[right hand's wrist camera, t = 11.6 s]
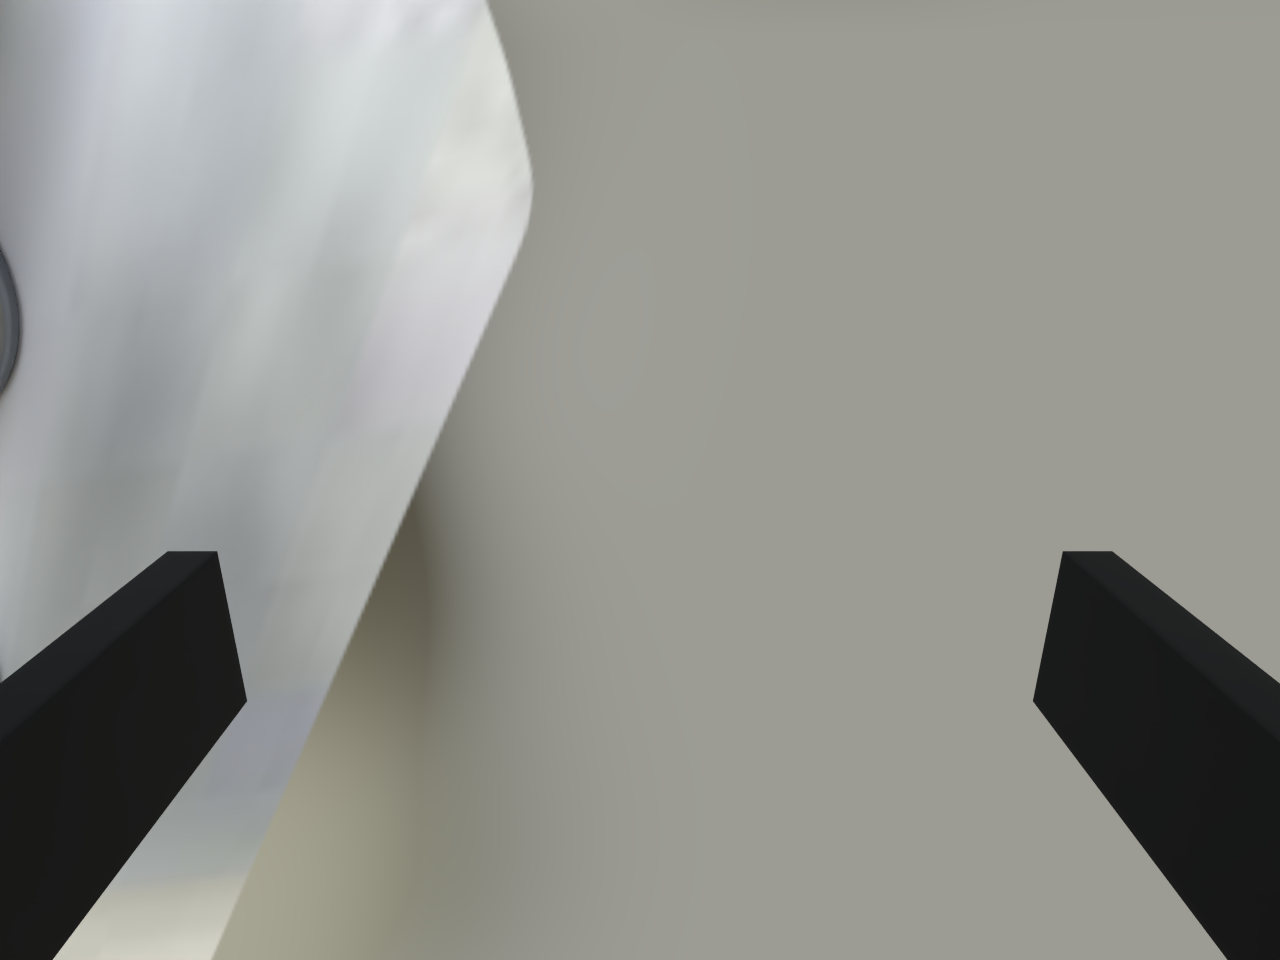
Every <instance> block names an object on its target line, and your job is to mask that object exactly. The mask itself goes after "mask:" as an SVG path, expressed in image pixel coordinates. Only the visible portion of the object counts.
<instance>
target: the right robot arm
mask: <svg viewBox="0 0 1280 960" xmlns="http://www.w3.org/2000/svg"><path fill="white" fill-rule="evenodd" d="M18 338H19V317H18V306H17V301H16V296H15V290H14V287H13V283H12V280H11V276H10V273H9V270H8V268H7V265H6V263H5V260H4V257H3V255H2V253H1V251H0V392H1V391H2V389H3V388H4V386H5V384H6V382H7V380H8V378H9V376H10V373H11V370H12V368H13V365H14V361H15V357H16V353H17V347H18ZM246 702H247V698H246V693H245V688H244V683H243V678H242V673H241V668H240V663H239V658H238V653H237V648H236V643H235V638H234V633H233V628H232V623H231V618H230V613H229V608H228V603H227V598H226V593H225V588H224V583H223V578H222V573H221V568H220V563H219V558H218V553H217V551H168V552H166V553H165V554H164V555H163V556H161V557H160V558H159V559H157V560H156V561H155V562H154V563H152V564H151V565H150V566H149V567H147V568H146V569H145V570H144V571H142V572H141V573H140V574H138V575H137V576H136V577H135V578H133V579H132V580H131V581H130V582H128V583H127V584H126V585H125V586H123V587H122V588H121V589H119V590H118V591H117V592H116V593H114V594H113V595H112V596H111V597H109V598H108V599H107V600H106V601H104V602H103V603H102V604H100V605H99V606H98V607H97V608H95V609H94V610H93V611H92V612H90V613H89V614H88V615H87V616H85V617H84V618H83V619H81V620H80V621H79V622H78V623H76V624H75V625H74V626H73V627H71V628H70V629H69V630H68V631H66V632H65V633H64V634H62V635H61V636H60V637H59V638H57V639H56V640H55V641H54V642H52V643H51V644H50V645H49V646H47V647H46V648H45V649H43V650H42V651H41V652H40V653H38V654H37V655H36V656H35V657H33V658H32V659H31V660H29V661H28V662H27V663H26V664H24V665H23V666H22V667H21V668H19V669H18V670H17V671H16V672H14V673H13V674H12V675H10V676H9V677H8V678H7V679H5V680H4V681H3V682H2V683H0V960H53V958H54V957H55V956H56V954H57V953H58V952H59V950H60V949H61V948H62V946H63V945H64V944H65V942H66V941H67V940H68V938H69V937H70V936H71V934H72V933H73V932H74V930H75V929H76V928H77V926H78V925H79V924H80V923H81V921H82V920H83V919H84V917H85V916H86V915H87V913H88V912H89V911H90V909H91V908H92V907H93V905H94V904H95V903H96V901H97V900H98V899H99V897H100V896H101V895H102V893H103V892H104V891H105V889H106V888H107V887H108V885H109V884H110V883H111V881H112V880H113V879H114V877H115V876H116V875H117V873H118V872H119V871H120V869H121V868H122V867H123V865H124V864H125V863H126V861H127V860H128V859H129V857H130V856H131V855H132V853H133V852H134V851H135V849H136V848H137V847H138V845H139V844H140V843H141V841H142V840H143V839H144V837H145V836H146V835H147V833H148V832H149V831H150V829H151V828H152V827H153V825H154V824H155V823H156V821H157V820H158V819H159V817H160V816H161V815H162V813H163V812H164V811H165V810H166V808H167V807H168V806H169V804H170V803H171V802H172V800H173V799H174V798H175V796H176V795H177V794H178V792H179V791H180V790H181V788H182V787H183V786H184V784H185V783H186V782H187V780H188V779H189V778H190V776H191V775H192V774H193V772H194V771H195V770H196V768H197V767H198V766H199V764H200V763H201V762H202V760H203V759H204V758H205V756H206V755H207V754H208V752H209V751H210V750H211V748H212V747H213V746H214V744H215V743H216V742H217V740H218V739H219V738H220V736H221V735H222V734H223V732H224V731H225V730H226V728H227V727H228V726H229V724H230V723H231V722H232V720H233V719H234V718H235V716H236V715H237V714H238V712H239V711H240V710H241V708H242V707H243V706H244V704H245V703H246ZM1033 702H1034V703H1035V704H1036V706H1037V707H1038V708H1039V710H1040V711H1041V712H1042V714H1043V715H1044V716H1045V718H1046V719H1047V720H1048V722H1049V723H1050V724H1051V726H1052V727H1053V728H1054V730H1055V731H1056V732H1057V734H1058V735H1059V736H1060V738H1061V739H1062V740H1063V742H1064V743H1065V744H1066V746H1067V747H1068V748H1069V750H1070V751H1071V752H1072V754H1073V755H1074V756H1075V758H1076V759H1077V760H1078V762H1079V763H1080V764H1081V766H1082V767H1083V768H1084V770H1085V771H1086V772H1087V774H1088V775H1089V776H1090V778H1091V779H1092V780H1093V782H1094V783H1095V784H1096V785H1097V787H1098V788H1099V790H1100V791H1101V792H1102V794H1103V795H1104V796H1105V798H1106V799H1107V800H1108V802H1109V803H1110V804H1111V806H1112V807H1113V808H1114V809H1115V811H1116V812H1117V813H1118V815H1119V816H1120V817H1121V819H1122V820H1123V821H1124V823H1125V824H1126V825H1127V827H1128V828H1129V829H1130V831H1131V832H1132V833H1133V835H1134V836H1135V837H1136V839H1137V840H1138V841H1139V843H1140V844H1141V845H1142V847H1143V848H1144V849H1145V851H1146V852H1147V853H1148V855H1149V856H1150V857H1151V859H1152V860H1153V861H1154V863H1155V864H1156V865H1157V867H1158V868H1159V869H1160V871H1161V872H1162V873H1163V875H1164V876H1165V877H1166V879H1167V880H1168V881H1169V883H1170V884H1171V885H1172V887H1173V888H1174V889H1175V891H1176V892H1177V893H1178V895H1179V896H1180V897H1181V899H1182V900H1183V901H1184V903H1185V904H1186V905H1187V906H1188V908H1189V909H1190V911H1191V912H1192V913H1193V915H1194V916H1195V917H1196V918H1197V920H1198V921H1199V923H1200V924H1201V925H1202V926H1203V928H1204V929H1205V930H1206V932H1207V933H1208V934H1209V936H1210V937H1211V938H1212V940H1213V941H1214V942H1215V944H1216V945H1217V946H1218V948H1219V949H1220V950H1221V952H1222V953H1223V954H1224V956H1225V957H1226V958H1227V960H1280V683H1278V682H1277V681H1276V680H1275V679H1273V678H1272V677H1271V676H1269V675H1268V674H1267V673H1266V672H1264V671H1263V670H1262V669H1261V668H1259V667H1258V666H1257V665H1256V664H1254V663H1253V662H1252V661H1250V660H1249V659H1248V658H1247V657H1245V656H1244V655H1243V654H1242V653H1240V652H1239V651H1238V650H1237V649H1235V648H1234V647H1233V646H1231V645H1230V644H1229V643H1228V642H1226V641H1225V640H1224V639H1223V638H1221V637H1220V636H1219V635H1218V634H1216V633H1215V632H1214V631H1212V630H1211V629H1210V628H1209V627H1207V626H1206V625H1205V624H1203V623H1202V622H1201V621H1200V620H1199V619H1197V618H1196V617H1195V616H1193V615H1192V614H1191V613H1190V612H1188V611H1187V610H1186V609H1185V608H1183V607H1182V606H1181V605H1180V604H1178V603H1177V602H1176V601H1174V600H1173V599H1172V598H1171V597H1169V596H1168V595H1167V594H1166V593H1164V592H1163V591H1162V590H1160V589H1159V588H1158V587H1157V586H1155V585H1154V584H1153V583H1152V582H1150V581H1149V580H1148V579H1147V578H1145V577H1144V576H1143V575H1142V574H1140V573H1139V572H1138V571H1136V570H1135V569H1134V568H1133V567H1131V566H1130V565H1129V564H1128V563H1126V562H1125V561H1124V560H1123V559H1121V558H1120V557H1119V556H1117V555H1116V554H1115V553H1114V552H1112V551H1063V553H1062V558H1061V563H1060V569H1059V574H1058V578H1057V583H1056V589H1055V593H1054V598H1053V603H1052V608H1051V614H1050V619H1049V623H1048V629H1047V633H1046V638H1045V643H1044V648H1043V653H1042V658H1041V663H1040V669H1039V673H1038V678H1037V683H1036V688H1035V693H1034V698H1033Z"/></svg>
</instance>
